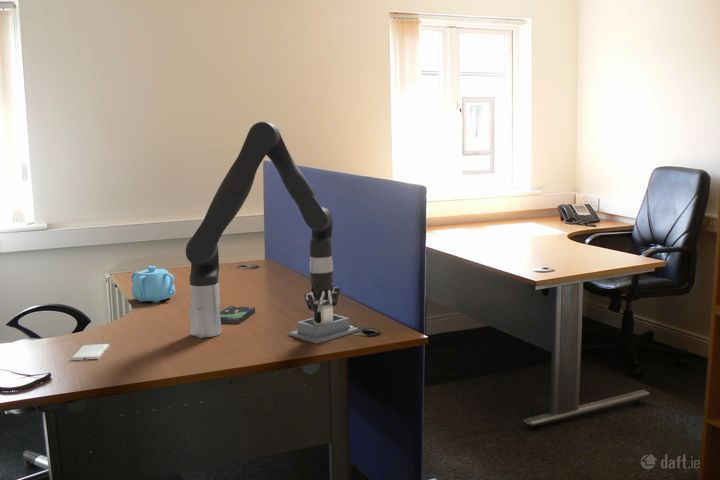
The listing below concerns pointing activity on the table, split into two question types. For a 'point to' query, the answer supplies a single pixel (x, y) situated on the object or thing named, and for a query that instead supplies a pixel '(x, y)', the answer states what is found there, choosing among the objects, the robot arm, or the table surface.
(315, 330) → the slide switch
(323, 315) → the block
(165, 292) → the decorative pot
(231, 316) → the disk drive
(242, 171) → the robot arm
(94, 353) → the hard drive
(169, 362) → the table surface
